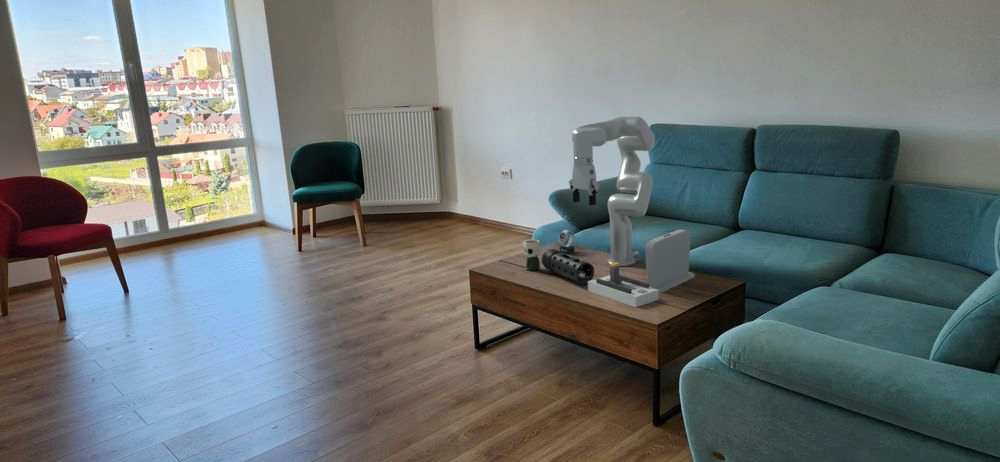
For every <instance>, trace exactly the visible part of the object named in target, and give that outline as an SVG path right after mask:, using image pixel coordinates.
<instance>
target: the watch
mask: <svg viewBox="0 0 1000 462" xmlns="http://www.w3.org/2000/svg"><path fill="white" fill-rule="evenodd" d="M568 233H569V234H568ZM568 235H569V237H568ZM557 238H558V239H557V240H558V242H559V245H561V246H559V251H561V252H562V253H564V254H567V255H571V254H575V246H574V245H572V244H573V242H574V240H575V236H574V233H573V231H572V230H568V229H565V230H562V231H561V232H560V233H559V234H558V236H557ZM567 239H568V242H567V244H565V242H566V241H567Z"/></svg>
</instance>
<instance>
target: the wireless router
mask: <svg viewBox="0 0 1000 462" xmlns="http://www.w3.org/2000/svg"><path fill="white" fill-rule="evenodd" d="M690 250H691V233H690V231H689V230H686V229H676V230H675V231H672V232H668V233H665V234H662V235H661V236H658V237H655V238H653V239H650V240H649V241H648V242H647V244H646V245H645V273H646V275H645V276H646V283H648V284H649V287H651V288H654V289H658V294H660V293H665V292H666V291H669V290H671V289H673V288H675V287H676V286H679V285H681V284H683V283H685V282H687V281H689V279H690V280H691V278H692V279H693V278H695V275H696V274H695V273H693V272H691V271H689V270H690V254H691V253H690V252H691V251H690ZM672 287H673V288H672ZM670 288H671V289H670Z"/></svg>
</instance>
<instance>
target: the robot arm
mask: <svg viewBox="0 0 1000 462" xmlns="http://www.w3.org/2000/svg"><path fill="white" fill-rule="evenodd" d="M571 139H572V144H573V145H572V146H573V165H572V166H573V167H572V173H571V175H572V178H571V179H569V181H568V183H569V188H570V190H571V193H572V202H573V203H579V202H580V201H581V200H580V199H581V196H580V195H581V194H580V190H581V191H587V192H588V205H589V206H595V205H596V204H597V194H598V192H599V190H600V184H599V183H598V182H597V172H596V167H595V164H594V157H593V156H594V155H593V148H594V147H601V146H604V145H605V144H606V142H612V141H615V140H616V142H617V147H618V149H619V153H620V156H621V163H620V169H619V172H618V176H617V180H616V188H617V190H618V191H619V192H621V193H614V194H611V195H610V196H608V197H609V198H608V200H607V210H608V214H609V225H610V226H609V227H610V230H609V233H610V238H609V239H610V258H608V259H606V260H607V262H606V263H607V264H608V265H610V264H611V263H615V262H616V263H620V266H619V267H630V266H633V265H636V263H637V260H636V259H635V257H637V256H640V252H639V251H638V250H636V251H633V224H632V221H631V219H630V218H629V217H633V218H634V217H636V218H642V217H643V216H645V215H646V213H647V210H648V207H649V204H650V200H651V195H652V191H653V186H654V181H653V177H652V175H651V174H650V173H648V172H645V171H640V170H641V164H642V163H641V160H640V157H639V156H638V154H637V153H636V152H642V151H643V152H648V151H649V152H650V151H652V150H653V148H655V145H656V137H655V135H654V133H653V130H652V129H651V128H650V126H649V125H648V123H647V122H646V120H644V118H642V117H640V116H618V117H615V118H612V119H609V120H606V121H600V122H595V123H589V124H585V125H580V126H578V127H576V128H575V129H574V130H573V131H572V135H571Z"/></svg>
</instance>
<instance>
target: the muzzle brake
mask: <svg viewBox="0 0 1000 462" xmlns="http://www.w3.org/2000/svg"><path fill="white" fill-rule="evenodd" d="M543 252H544V253H542V255H541V264H542V265H543V267H544V268H545V269H547V270H548V271H550V272H553V273H555V275H558V276H559V277H560V276H561V277H562V276H563V277H566V278H567V279H568V280H571V281H572V282H574V283H576V284H579V285H582V286H587V285H588V281H591V280H593V278H594V276H595V268H594V265H593V264H591V263H590V262H587V261H585V260H582V259H580V258H578V257H574V256H572V255H571V254H564V253H562V252H561V251H560V250H558V249H555V248H553V249H547V250H546V251H543Z"/></svg>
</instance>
